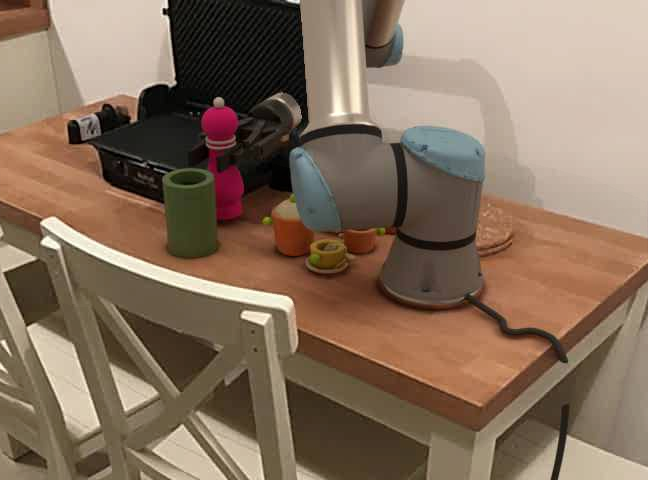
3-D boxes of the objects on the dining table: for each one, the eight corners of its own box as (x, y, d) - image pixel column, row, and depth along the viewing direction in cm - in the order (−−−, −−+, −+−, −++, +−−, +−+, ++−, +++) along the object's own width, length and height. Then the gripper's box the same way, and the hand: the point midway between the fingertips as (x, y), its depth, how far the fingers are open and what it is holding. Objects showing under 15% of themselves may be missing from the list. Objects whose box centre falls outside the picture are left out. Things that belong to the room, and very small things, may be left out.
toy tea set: (328, 284, 140) (330, 225, 134) (253, 255, 149) (252, 199, 143) (424, 227, 155) (429, 173, 149) (351, 204, 164) (353, 152, 158)
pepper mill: (195, 217, 158) (188, 101, 147) (216, 201, 163) (210, 88, 152) (232, 224, 155) (227, 106, 144) (251, 208, 160) (248, 93, 149)
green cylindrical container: (226, 250, 150) (222, 180, 143) (181, 262, 147) (175, 191, 140) (204, 232, 156) (200, 164, 149) (160, 243, 153) (154, 174, 146)
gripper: (318, 147, 163) (251, 193, 148) (233, 132, 171) (161, 174, 155) (319, 105, 159) (250, 148, 143) (231, 92, 167) (157, 131, 151)
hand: (204, 161), depth 149 cm, fingers closed on pepper mill, 5 cm apart
